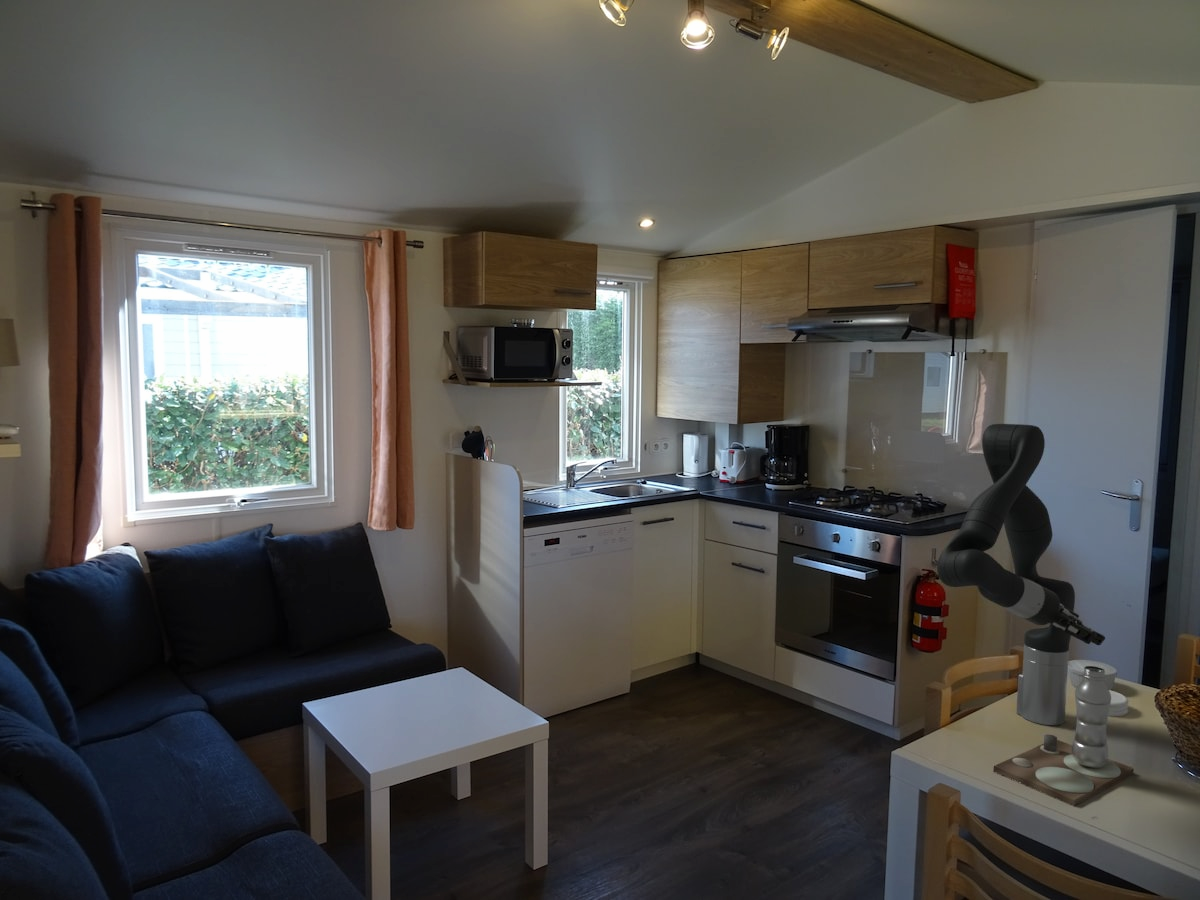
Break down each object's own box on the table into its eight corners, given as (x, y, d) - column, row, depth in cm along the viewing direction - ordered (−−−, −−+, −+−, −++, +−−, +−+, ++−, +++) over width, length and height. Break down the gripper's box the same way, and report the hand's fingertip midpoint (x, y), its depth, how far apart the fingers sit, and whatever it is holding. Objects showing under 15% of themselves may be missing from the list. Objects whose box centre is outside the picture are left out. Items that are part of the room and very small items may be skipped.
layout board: (993, 771, 169) (994, 751, 169) (1054, 744, 182) (1055, 725, 181) (1073, 806, 156) (1075, 784, 156) (1133, 773, 169) (1134, 753, 168)
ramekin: (1055, 682, 218) (1057, 663, 217) (1082, 675, 223) (1083, 656, 222) (1098, 697, 208) (1099, 677, 207) (1125, 690, 213) (1126, 670, 212)
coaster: (1103, 699, 207) (1103, 685, 207) (1137, 715, 198) (1138, 700, 197) (1069, 703, 205) (1070, 689, 205) (1103, 719, 195) (1104, 705, 195)
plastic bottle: (1111, 764, 169) (1116, 668, 168) (1103, 775, 164) (1109, 677, 163) (1075, 754, 174) (1080, 661, 172) (1067, 765, 169) (1072, 669, 167)
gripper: (1060, 602, 161) (1122, 633, 164) (1019, 568, 174) (1078, 598, 177) (1037, 633, 162) (1099, 663, 166) (998, 597, 176) (1056, 626, 179)
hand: (1088, 629), depth 172 cm, fingers open, 8 cm apart
